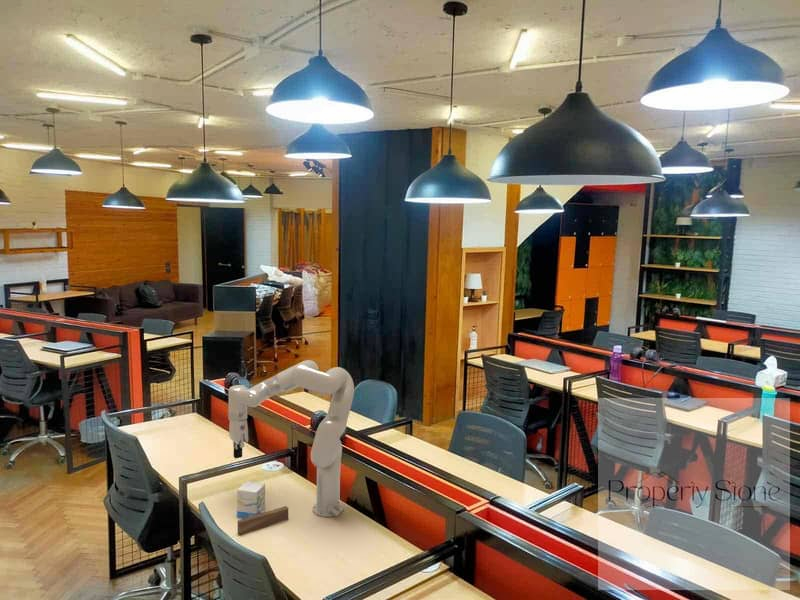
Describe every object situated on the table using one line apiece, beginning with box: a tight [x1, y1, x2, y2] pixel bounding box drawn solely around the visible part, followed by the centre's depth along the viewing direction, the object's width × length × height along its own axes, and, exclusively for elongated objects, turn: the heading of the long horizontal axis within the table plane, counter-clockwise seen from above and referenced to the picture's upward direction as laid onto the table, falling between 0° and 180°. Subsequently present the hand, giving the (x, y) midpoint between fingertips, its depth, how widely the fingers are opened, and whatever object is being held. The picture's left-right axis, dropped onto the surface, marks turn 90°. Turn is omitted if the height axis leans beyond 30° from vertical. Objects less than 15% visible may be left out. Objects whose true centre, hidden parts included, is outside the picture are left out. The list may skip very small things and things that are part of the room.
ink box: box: [236, 480, 266, 519], centre depth 221 cm, size 8×8×12 cm
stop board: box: [237, 505, 289, 536], centre depth 211 cm, size 2×20×5 cm, turn 128°
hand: (237, 457), depth 230 cm, fingers closed
